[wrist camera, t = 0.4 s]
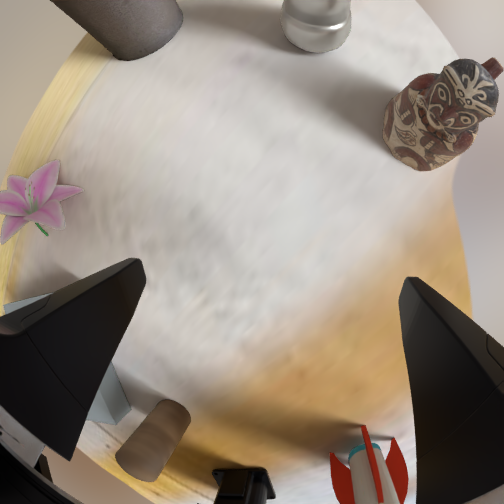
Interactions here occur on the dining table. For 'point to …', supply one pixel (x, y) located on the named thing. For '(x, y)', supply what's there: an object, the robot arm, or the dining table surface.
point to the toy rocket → (370, 475)
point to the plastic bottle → (316, 23)
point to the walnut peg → (154, 441)
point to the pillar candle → (126, 23)
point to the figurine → (441, 113)
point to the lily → (34, 200)
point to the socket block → (109, 393)
